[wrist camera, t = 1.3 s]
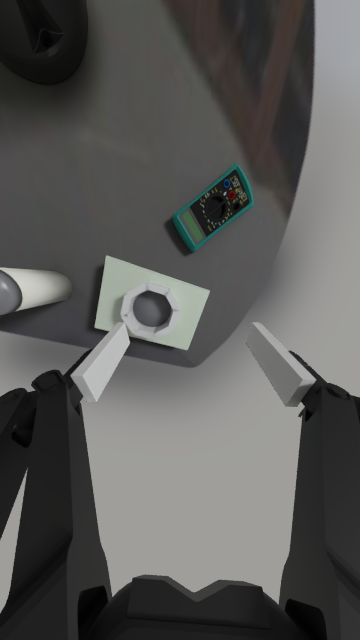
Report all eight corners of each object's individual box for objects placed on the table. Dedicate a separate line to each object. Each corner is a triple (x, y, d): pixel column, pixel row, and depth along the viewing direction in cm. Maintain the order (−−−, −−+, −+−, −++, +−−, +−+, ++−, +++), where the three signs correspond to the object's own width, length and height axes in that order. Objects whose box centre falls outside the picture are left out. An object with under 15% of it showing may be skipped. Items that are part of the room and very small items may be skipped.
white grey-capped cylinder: (39, 265, 26) (-58, 256, 15) (74, 276, 27) (9, 275, 16) (38, 296, 28) (-50, 309, 16) (71, 304, 29) (9, 322, 18)
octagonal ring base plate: (114, 258, 27) (98, 252, 20) (204, 289, 31) (215, 292, 24) (103, 321, 31) (86, 333, 24) (185, 342, 34) (189, 357, 28)
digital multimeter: (250, 208, 27) (259, 200, 25) (191, 254, 29) (193, 251, 26) (233, 169, 25) (241, 156, 22) (170, 221, 27) (171, 214, 24)
